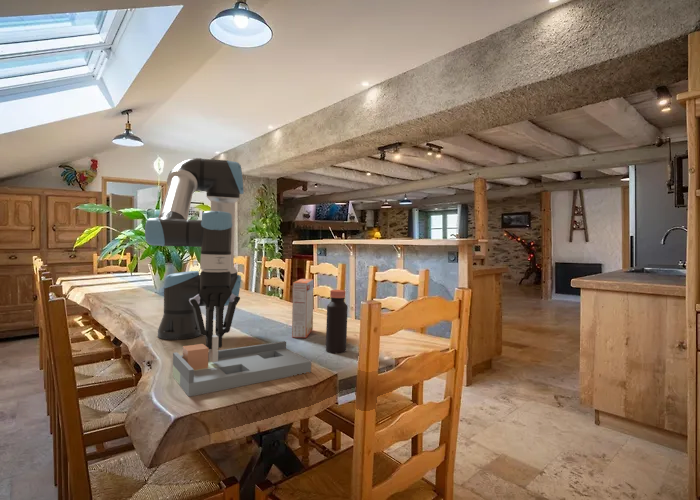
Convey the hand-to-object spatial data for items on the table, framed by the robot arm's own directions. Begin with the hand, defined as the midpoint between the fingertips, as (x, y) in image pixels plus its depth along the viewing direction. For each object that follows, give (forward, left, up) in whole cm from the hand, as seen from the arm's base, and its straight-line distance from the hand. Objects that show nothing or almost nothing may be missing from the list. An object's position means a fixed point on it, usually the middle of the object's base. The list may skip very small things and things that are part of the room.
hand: (213, 360), depth 101 cm
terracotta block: (0, -4, -1) cm, 5 cm away
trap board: (+3, +7, -4) cm, 9 cm away
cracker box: (-29, +43, -4) cm, 52 cm away
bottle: (-3, +41, -4) cm, 42 cm away
